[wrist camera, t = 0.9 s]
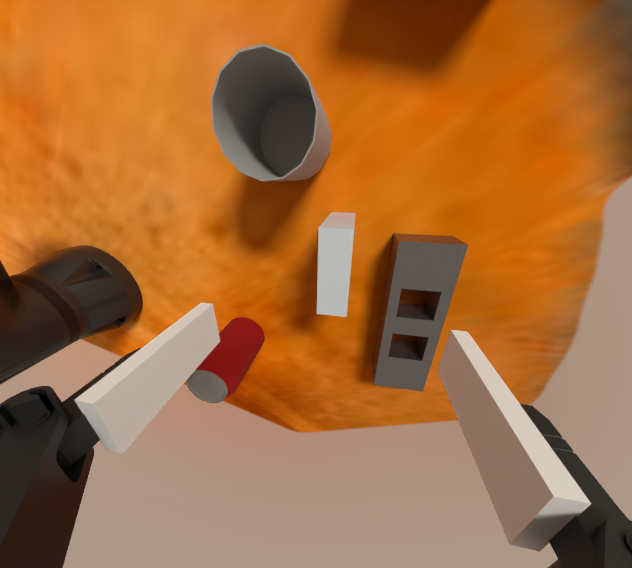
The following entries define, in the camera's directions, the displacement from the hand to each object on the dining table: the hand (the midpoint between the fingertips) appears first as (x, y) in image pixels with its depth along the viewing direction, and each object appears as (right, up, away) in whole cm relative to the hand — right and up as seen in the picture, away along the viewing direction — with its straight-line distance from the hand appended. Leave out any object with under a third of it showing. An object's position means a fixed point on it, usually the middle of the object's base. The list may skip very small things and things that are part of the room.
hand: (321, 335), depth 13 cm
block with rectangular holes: (+13, -1, +20) cm, 23 cm away
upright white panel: (+3, +8, +17) cm, 19 cm away
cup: (-3, +20, +13) cm, 24 cm away
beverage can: (-12, -5, +27) cm, 30 cm away
